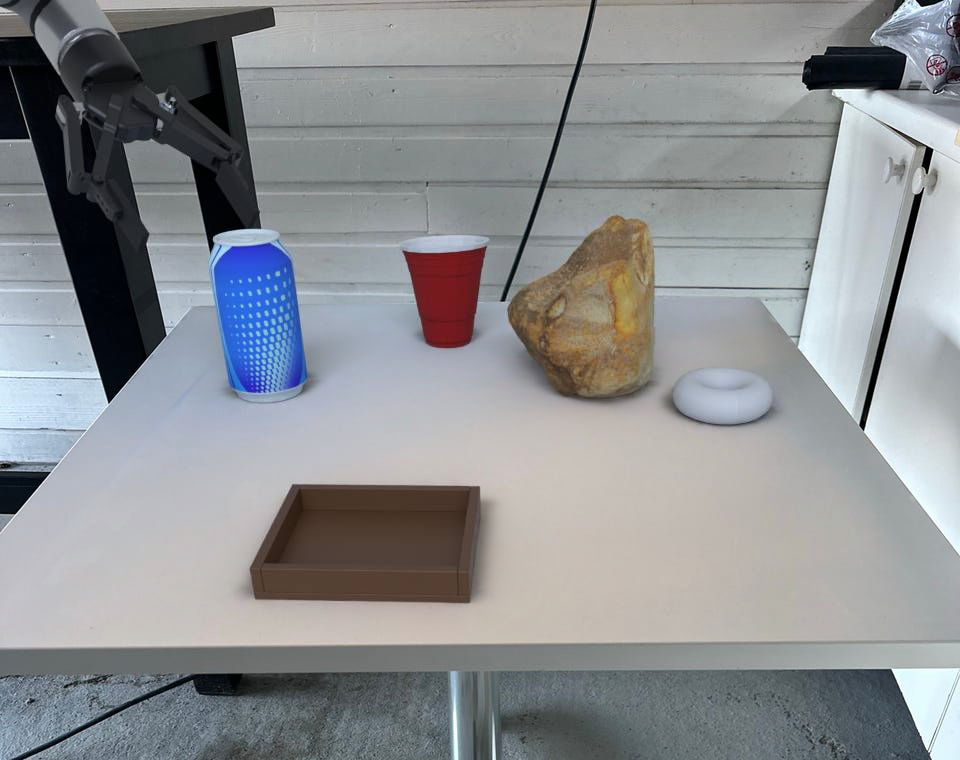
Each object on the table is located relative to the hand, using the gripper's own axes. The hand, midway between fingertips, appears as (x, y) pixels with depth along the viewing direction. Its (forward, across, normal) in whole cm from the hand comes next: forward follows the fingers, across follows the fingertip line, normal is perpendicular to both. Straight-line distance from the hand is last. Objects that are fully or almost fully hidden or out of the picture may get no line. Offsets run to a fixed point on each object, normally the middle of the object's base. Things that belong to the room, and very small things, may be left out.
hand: (201, 232), depth 97 cm
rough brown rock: (+32, -27, +11) cm, 43 cm away
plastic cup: (+19, -25, -3) cm, 32 cm away
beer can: (+17, 0, -5) cm, 18 cm away
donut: (+46, -26, +24) cm, 58 cm away
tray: (+42, +17, +20) cm, 49 cm away
